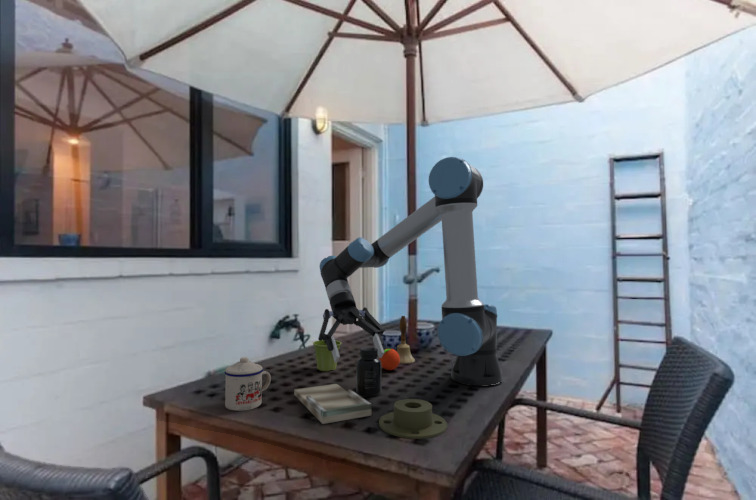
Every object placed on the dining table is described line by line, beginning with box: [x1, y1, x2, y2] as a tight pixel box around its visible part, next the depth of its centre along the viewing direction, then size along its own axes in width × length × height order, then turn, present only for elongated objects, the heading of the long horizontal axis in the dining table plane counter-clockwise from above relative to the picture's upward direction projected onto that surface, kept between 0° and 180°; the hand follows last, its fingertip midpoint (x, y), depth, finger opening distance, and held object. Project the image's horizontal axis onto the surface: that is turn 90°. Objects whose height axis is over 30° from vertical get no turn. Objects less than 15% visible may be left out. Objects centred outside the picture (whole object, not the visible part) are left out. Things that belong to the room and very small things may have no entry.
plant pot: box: [312, 340, 342, 372], centre depth 142 cm, size 9×9×9 cm
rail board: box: [293, 383, 372, 425], centre depth 108 cm, size 22×12×3 cm, turn 27°
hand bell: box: [396, 315, 416, 365], centre depth 154 cm, size 8×8×16 cm
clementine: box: [378, 347, 400, 371], centre depth 141 cm, size 8×7×7 cm
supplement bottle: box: [355, 347, 382, 398], centre depth 117 cm, size 7×7×12 cm
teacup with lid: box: [224, 356, 272, 412], centre depth 108 cm, size 12×9×12 cm
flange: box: [378, 398, 448, 440], centre depth 96 cm, size 5×15×15 cm
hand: (360, 357), depth 120 cm, fingers open, 13 cm apart
